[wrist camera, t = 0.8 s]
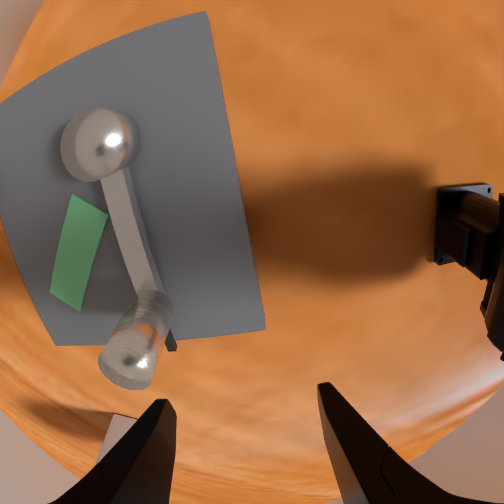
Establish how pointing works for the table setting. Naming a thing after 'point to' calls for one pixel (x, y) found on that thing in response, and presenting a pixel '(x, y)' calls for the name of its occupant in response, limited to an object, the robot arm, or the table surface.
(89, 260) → the board
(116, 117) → the lever
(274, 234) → the table surface
